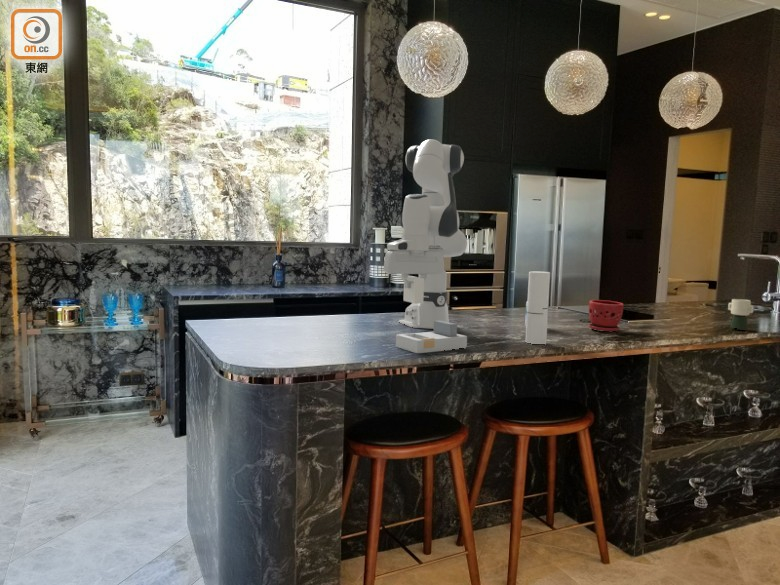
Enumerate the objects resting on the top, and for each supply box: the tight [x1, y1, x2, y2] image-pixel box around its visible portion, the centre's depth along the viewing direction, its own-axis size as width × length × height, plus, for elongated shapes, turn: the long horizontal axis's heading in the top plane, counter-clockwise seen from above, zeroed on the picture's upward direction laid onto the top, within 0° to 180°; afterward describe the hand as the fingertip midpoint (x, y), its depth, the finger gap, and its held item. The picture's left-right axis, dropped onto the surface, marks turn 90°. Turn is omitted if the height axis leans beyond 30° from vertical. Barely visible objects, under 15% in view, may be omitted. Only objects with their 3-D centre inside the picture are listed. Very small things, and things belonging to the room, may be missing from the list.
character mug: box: [727, 298, 754, 330], centre depth 255 cm, size 11×7×13 cm, turn 27°
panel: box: [403, 275, 424, 304], centre depth 193 cm, size 9×3×8 cm, turn 23°
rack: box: [395, 320, 468, 354], centre depth 196 cm, size 12×20×8 cm, turn 123°
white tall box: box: [524, 270, 551, 345], centre depth 209 cm, size 7×7×25 cm
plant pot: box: [588, 299, 624, 332], centre depth 242 cm, size 13×13×12 cm
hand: (413, 288), depth 192 cm, fingers closed on panel, 3 cm apart
